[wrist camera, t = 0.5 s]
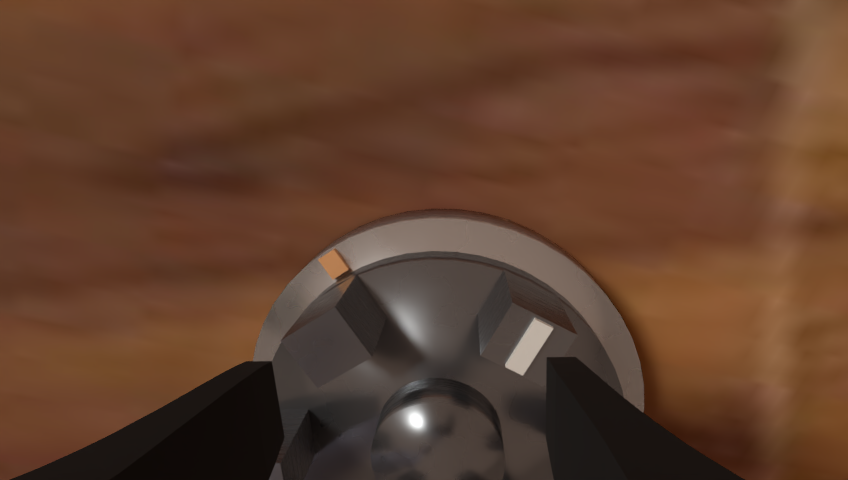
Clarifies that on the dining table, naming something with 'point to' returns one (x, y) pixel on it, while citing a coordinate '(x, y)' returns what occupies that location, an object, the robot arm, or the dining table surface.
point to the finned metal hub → (426, 372)
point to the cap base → (465, 236)
